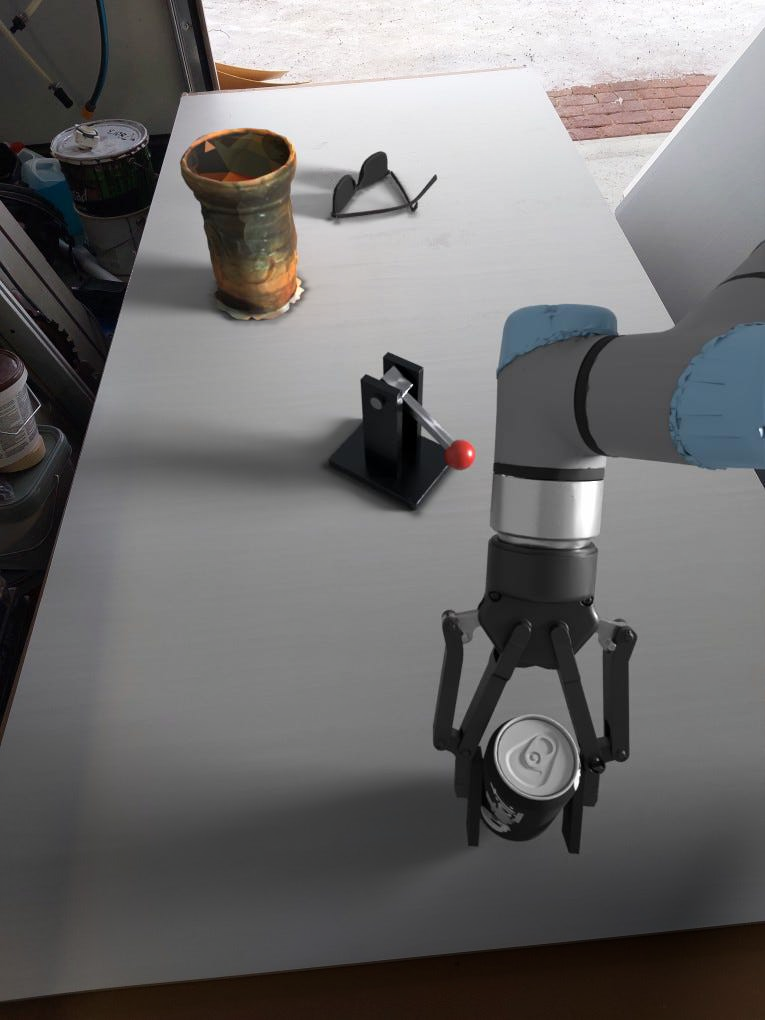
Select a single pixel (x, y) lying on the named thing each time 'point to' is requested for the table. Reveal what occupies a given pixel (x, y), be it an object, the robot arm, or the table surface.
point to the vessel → (247, 218)
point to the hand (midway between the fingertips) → (521, 838)
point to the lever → (432, 424)
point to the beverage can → (527, 776)
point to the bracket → (392, 441)
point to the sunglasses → (369, 174)
